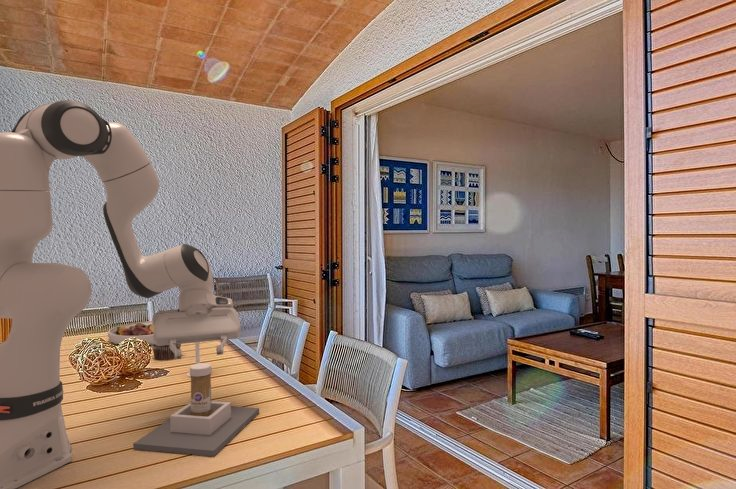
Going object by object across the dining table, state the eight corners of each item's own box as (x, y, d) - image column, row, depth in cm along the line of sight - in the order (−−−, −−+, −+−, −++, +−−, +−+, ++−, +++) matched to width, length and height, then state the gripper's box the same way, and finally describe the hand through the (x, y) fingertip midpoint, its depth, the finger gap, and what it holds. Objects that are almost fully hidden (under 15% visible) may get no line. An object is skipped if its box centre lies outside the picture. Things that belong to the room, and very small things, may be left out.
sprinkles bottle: (190, 429, 101) (189, 369, 100) (191, 421, 105) (190, 363, 105) (211, 426, 102) (211, 367, 102) (212, 418, 107) (211, 361, 106)
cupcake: (177, 352, 169) (176, 325, 169) (184, 357, 162) (184, 329, 161) (149, 356, 163) (148, 328, 163) (155, 362, 156) (155, 333, 155)
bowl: (123, 333, 202) (122, 315, 202) (194, 330, 208) (193, 312, 207) (95, 350, 173) (95, 330, 172) (179, 346, 178) (179, 326, 178)
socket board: (213, 456, 91) (213, 433, 91) (133, 449, 94) (132, 426, 94) (259, 412, 113) (259, 394, 113) (192, 408, 116) (192, 389, 116)
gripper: (151, 303, 111) (150, 353, 103) (238, 298, 119) (243, 344, 111) (153, 318, 116) (151, 367, 107) (236, 312, 123) (241, 357, 115)
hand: (199, 355), depth 109 cm, fingers open, 8 cm apart
